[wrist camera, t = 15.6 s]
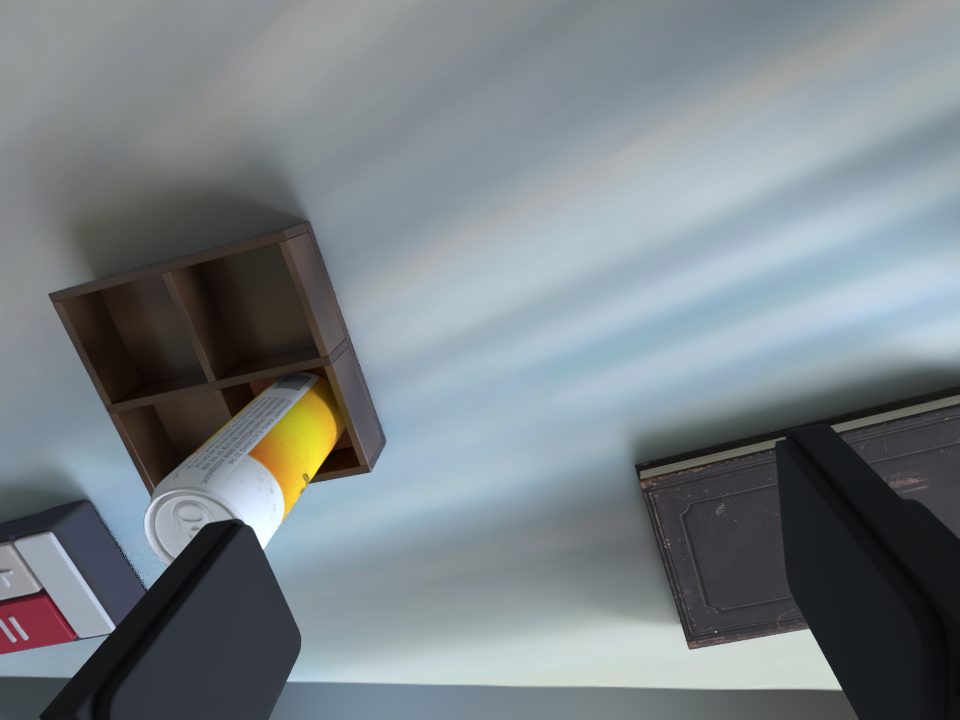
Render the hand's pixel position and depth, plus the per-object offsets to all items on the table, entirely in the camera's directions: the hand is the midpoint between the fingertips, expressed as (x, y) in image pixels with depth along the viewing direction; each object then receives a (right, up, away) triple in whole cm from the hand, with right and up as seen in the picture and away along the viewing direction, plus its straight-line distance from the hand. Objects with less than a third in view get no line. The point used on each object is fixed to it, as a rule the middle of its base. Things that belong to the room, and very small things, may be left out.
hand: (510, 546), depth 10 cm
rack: (-18, +3, +33) cm, 37 cm away
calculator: (-38, -15, +42) cm, 58 cm away
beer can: (-13, 0, +32) cm, 35 cm away
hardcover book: (+24, -8, +33) cm, 41 cm away
